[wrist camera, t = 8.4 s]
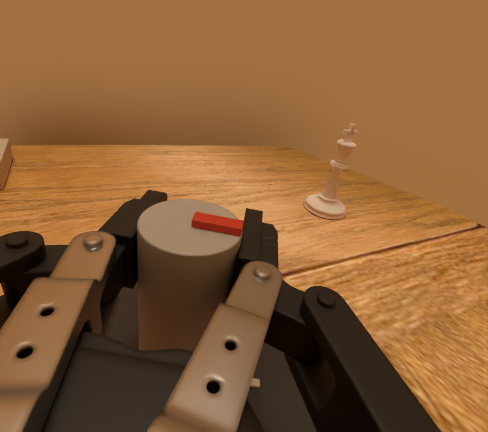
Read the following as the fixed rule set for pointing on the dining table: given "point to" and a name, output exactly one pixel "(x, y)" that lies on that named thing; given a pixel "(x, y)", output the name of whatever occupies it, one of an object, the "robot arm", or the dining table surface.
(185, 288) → the knob
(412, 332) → the dining table surface
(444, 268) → the dining table surface
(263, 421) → the panel
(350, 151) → the chess piece
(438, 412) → the dining table surface
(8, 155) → the box
